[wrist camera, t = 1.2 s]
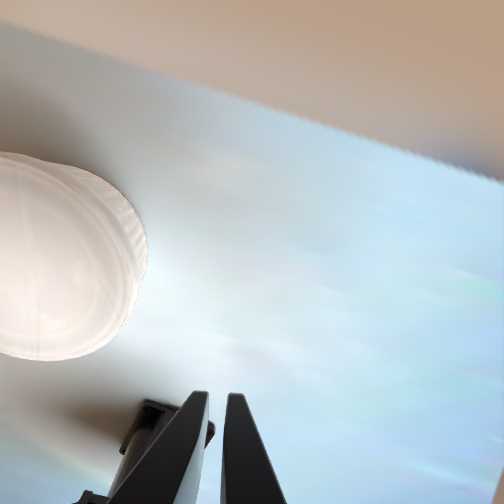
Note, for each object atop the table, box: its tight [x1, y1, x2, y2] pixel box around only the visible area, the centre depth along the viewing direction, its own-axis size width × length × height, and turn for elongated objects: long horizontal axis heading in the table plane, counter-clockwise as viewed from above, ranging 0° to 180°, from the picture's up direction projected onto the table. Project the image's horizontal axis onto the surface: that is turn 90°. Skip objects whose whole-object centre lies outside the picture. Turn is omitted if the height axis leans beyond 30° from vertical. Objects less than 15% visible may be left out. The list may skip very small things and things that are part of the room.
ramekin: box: [0, 151, 148, 361], centre depth 16 cm, size 11×11×5 cm
